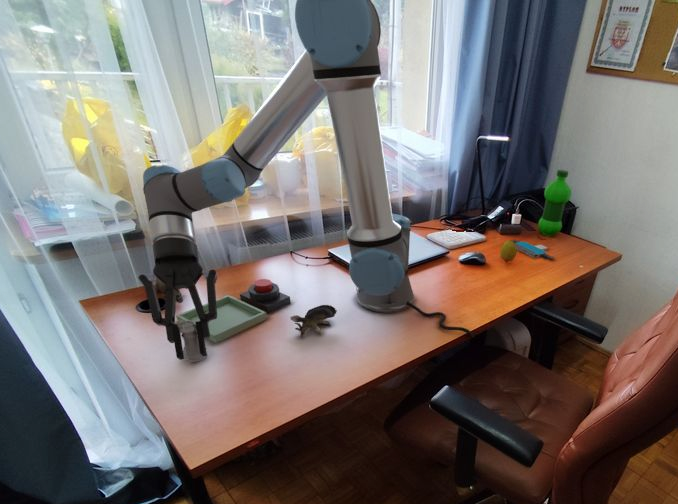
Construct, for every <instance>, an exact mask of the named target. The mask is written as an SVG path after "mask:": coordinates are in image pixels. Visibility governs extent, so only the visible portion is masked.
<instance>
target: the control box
mask: <svg viewBox="0 0 678 504" xmlns="http://www.w3.org/2000/svg"><path fill="white" fill-rule="evenodd" d="M247 289H248V290H246V291H244V292H241V293H239V298H240V300H241V301H243V302H245V303H247V304H249V305H251V306H254V307H256V308H258V309H260V310H262V311H264V312H266V314H271V313H273V312H275V311H277V310H279V309H282V308H284V307H286V306H288V305H291V303H292V302H291V296H289V295H288V294H285V293H282V292H281V291H280V287H279V284H277V283H274V282H272V290H271V291H269V292H263V293H262V292H256V291H255V286H254V283H253V284H251V285H249V287H248V288H247Z"/></svg>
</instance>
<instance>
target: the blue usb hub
mask: <svg viewBox="0 0 678 504" xmlns="http://www.w3.org/2000/svg"><path fill="white" fill-rule="evenodd" d="M511 241H512V242H514V243H515V245H516V247H517V251H519V252H521V253H523V254H525V255H527V256H529V257H531V258H533V259H536V258H542V259H544V260H550V261H554V256H550V255H549V254H547V253H548V252H547V251H546V250H548V249H549V247H547V246H545V245H544V244H537V245H533V244H531V243H529V242H527V241H520V240H517V239H513V240H511Z"/></svg>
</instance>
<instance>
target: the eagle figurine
mask: <svg viewBox="0 0 678 504" xmlns="http://www.w3.org/2000/svg"><path fill="white" fill-rule="evenodd" d="M337 311H338V310H337V309H336V308H335V307H334V306H332V305H329V304H321V305H318V306H316V307H315V306H314V307H313V308H310V309H308V310H307V312H306V313H305V316H304V317H302V316H300V315H298V314H297V315H293V316H290V320H291V321H292V322H294V325H297V327H295V328H294V329H295V330H297V331H299V332H300V338H302V337H303V336H305V334H306V332H307V330H310V329H311V330H314V331H316V332H317V333H319V334H320V335H322V334H323V333H322V329H321V328H320V327H319V326H318V324H319V325H321V324H323V325H331V323H330V321H328V320H327V319H331V318H335V316H336V314H337ZM298 327H299V328H298Z"/></svg>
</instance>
